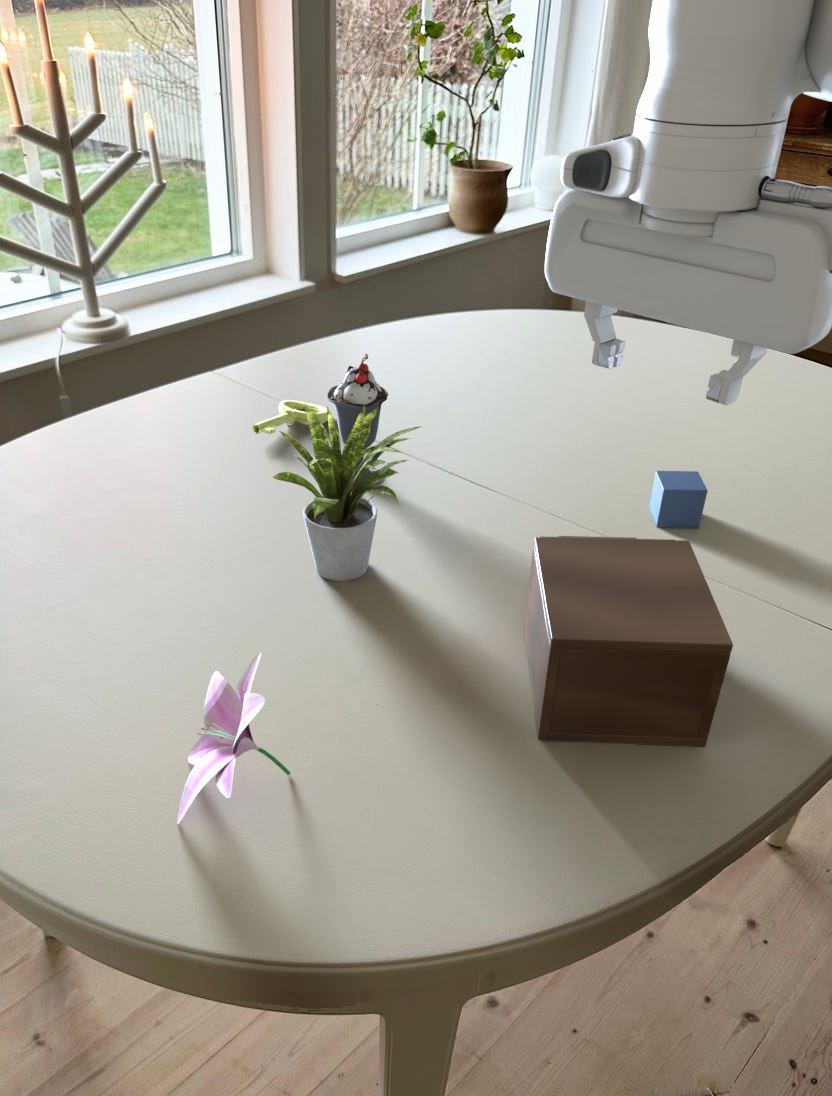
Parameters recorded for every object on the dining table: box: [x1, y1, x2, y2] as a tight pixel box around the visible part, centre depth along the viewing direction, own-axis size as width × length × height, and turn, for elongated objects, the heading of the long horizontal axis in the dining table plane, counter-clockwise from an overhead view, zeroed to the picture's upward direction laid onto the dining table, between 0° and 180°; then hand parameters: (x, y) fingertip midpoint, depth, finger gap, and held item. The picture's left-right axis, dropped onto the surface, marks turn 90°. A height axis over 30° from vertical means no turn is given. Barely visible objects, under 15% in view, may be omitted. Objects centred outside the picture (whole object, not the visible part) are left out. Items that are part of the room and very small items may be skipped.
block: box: [648, 470, 709, 529], centre depth 100 cm, size 4×4×4 cm
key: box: [252, 399, 328, 435], centre depth 122 cm, size 7×12×2 cm, turn 163°
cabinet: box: [523, 536, 734, 747], centre depth 76 cm, size 15×13×10 cm
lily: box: [176, 652, 291, 825], centre depth 68 cm, size 12×12×10 cm
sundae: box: [326, 353, 389, 486], centre depth 106 cm, size 7×7×15 cm
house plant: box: [270, 405, 423, 582], centre depth 88 cm, size 14×14×16 cm
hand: (661, 382), depth 68 cm, fingers open, 8 cm apart
